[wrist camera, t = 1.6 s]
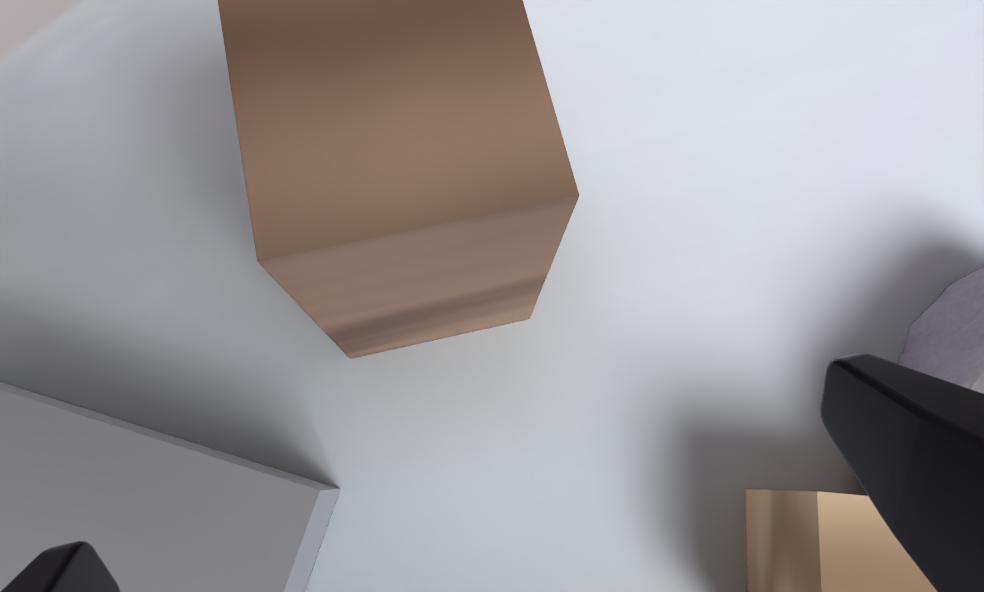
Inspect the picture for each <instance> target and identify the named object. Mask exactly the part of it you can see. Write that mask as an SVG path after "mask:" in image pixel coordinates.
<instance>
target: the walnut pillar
mask: <svg viewBox="0 0 984 592" xmlns="http://www.w3.org/2000/svg"><path fill="white" fill-rule="evenodd" d="M218 5H219V11H220V18H221V24H222V31H223V38H224V44H225V51H226V57H227V64H228V70H229V77H230V84H231V90H232V97H233V103H234V110H235V116H236V123H237V129H238V136H239V143H240V149H241V156H242V162H243V169H244V175H245V182H246V188H247V195H248V202H249V208H250V215H251V221H252V228H253V234H254V241H255V247H256V254H257V261H258V262H259V263H260V264H261V265H262V266H263V268H264V269H265V270H266V271H267V272H268V273H269V274H270V275H271V276H272V277H273V278H274V279H275V280H276V281H277V282H278V283H279V284H280V285H281V286H282V287H283V289H284V290H285V291H286V292H287V293H288V294H289V295H290V296H291V297H292V298H293V299H294V300H295V301H296V302H297V303H298V304H299V305H300V306H301V307H302V308H303V310H304V311H305V312H306V313H307V314H308V315H309V316H310V317H311V318H312V319H313V320H314V321H315V322H316V323H317V324H318V325H319V326H320V327H321V328H322V329H323V331H324V332H325V333H326V334H327V335H328V336H329V337H330V338H331V339H332V340H333V341H334V342H335V343H336V344H337V345H338V346H339V347H340V348H341V349H342V350H343V351H344V353H345V354H346V355H347V356H348V357H349V358H350V359H351V358H356V357H360V356H365V355H369V354H374V353H378V352H383V351H387V350H392V349H396V348H401V347H405V346H410V345H414V344H419V343H423V342H428V341H433V340H437V339H442V338H446V337H451V336H455V335H460V334H464V333H469V332H473V331H478V330H482V329H487V328H491V327H496V326H500V325H505V324H509V323H514V322H518V321H523V320H527V319H529V318H530V316H531V314H532V311H533V309H534V306H535V304H536V301H537V299H538V296H539V294H540V291H541V289H542V286H543V284H544V281H545V279H546V276H547V274H548V271H549V269H550V267H551V264H552V262H553V259H554V257H555V254H556V252H557V249H558V247H559V244H560V242H561V239H562V237H563V234H564V232H565V229H566V227H567V224H568V222H569V220H570V217H571V215H572V212H573V210H574V207H575V205H576V202H577V200H578V197H579V193H578V190H577V186H576V183H575V179H574V176H573V172H572V169H571V165H570V162H569V159H568V155H567V152H566V148H565V145H564V141H563V138H562V135H561V131H560V128H559V124H558V121H557V117H556V114H555V110H554V107H553V104H552V100H551V97H550V93H549V90H548V86H547V83H546V80H545V76H544V73H543V69H542V66H541V62H540V59H539V56H538V52H537V49H536V45H535V42H534V38H533V35H532V31H531V28H530V25H529V21H528V18H527V14H526V11H525V7H524V4H523V1H522V0H218Z"/></svg>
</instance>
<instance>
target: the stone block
mask: <svg viewBox="0 0 984 592" xmlns="http://www.w3.org/2000/svg"><path fill="white" fill-rule="evenodd" d="M898 364H899V365H902V366H905V367H908V368H911V369H914V370H917V371H920V372H923V373H926V374H928V375H931V376H934V377H937V378H940V379H943V380H946V381H949V382H952V383H955V384H957V385H960V386H963V387H966V388H969V389H972V390H975V391H978V392H981V393H984V267H983V268H980V269H978V270H976V271H974V272H972V273H970V274H968V275H966V276H964V277H963V278H961V279H960V280H956V281H954V282H953V283H952V284H951V285H950V286H948V287H947V288H946V289H945V290H944V291H943V293H942V294H941V295H940V297H939V298H938V299H936V300H935V301H934V302H933V303H932V304H931V305H930V307H929V308H928V309H926V310H925V311H924V312H923V313H922V314H920V316H919V317H918V318H917V319H916V320H915V321H914V322H913V323H912V324H911V326H910V329H909V333H908V337H907V340H906V344H905V347H904V350H903V353H902V355H901V356H900V357H899V360H898Z"/></svg>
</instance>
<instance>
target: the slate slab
mask: <svg viewBox="0 0 984 592" xmlns="http://www.w3.org/2000/svg"><path fill="white" fill-rule="evenodd" d="M339 491H340V489H339V488H336V487H333V486H329V485H326V484H323V483H320V482H317V481H314V480H310V479H307V478H304V477H301V476H298V475H295V474H291V473H288V472H285V471H282V470H279V469H276V468H272V467H269V466H266V465H263V464H260V463H257V462H253V461H250V460H247V459H244V458H241V457H237V456H234V455H231V454H228V453H225V452H222V451H218V450H215V449H212V448H209V447H206V446H203V445H199V444H196V443H193V442H190V441H187V440H184V439H180V438H177V437H174V436H171V435H168V434H164V433H161V432H158V431H155V430H152V429H149V428H145V427H142V426H139V425H136V424H133V423H130V422H126V421H123V420H120V419H117V418H114V417H111V416H107V415H104V414H101V413H98V412H95V411H92V410H88V409H85V408H82V407H79V406H76V405H72V404H69V403H66V402H63V401H60V400H57V399H53V398H50V397H47V396H44V395H41V394H38V393H34V392H31V391H28V390H25V389H22V388H19V387H15V386H12V385H9V384H6V383H3V382H0V591H1V590H3V589H4V588H5V587H6V586H7V585H8V584H9V583H10V582H11V581H12V580H13V579H14V578H15V577H16V576H17V575H18V574H19V573H20V572H21V571H22V570H23V569H24V568H25V567H26V566H27V565H28V564H29V563H30V562H31V561H33V560H34V559H35V558H36V557H37V556H38V555H39V554H40V553H41V552H43V551H44V550H46V549H49V548H51V547H55V546H59V545H63V544H67V543H72V542H76V541H85V542H87V543H89V544H91V545H92V546H93V548H94V549H95V551H96V552H97V554H98V555H99V557H100V558H101V560H102V561H103V563H104V564H105V566H106V567H107V569H108V570H109V572H110V573H111V575H112V576H113V578H114V579H115V581H116V582H117V584H118V586H119V589H120V592H305V589H306V586H307V583H308V580H309V577H310V575H311V572H312V569H313V566H314V563H315V560H316V557H317V554H318V552H319V549H320V546H321V543H322V540H323V537H324V534H325V532H326V529H327V526H328V523H329V520H330V517H331V514H332V511H333V509H334V506H335V503H336V500H337V497H338V494H339Z"/></svg>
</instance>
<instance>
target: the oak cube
mask: <svg viewBox="0 0 984 592" xmlns="http://www.w3.org/2000/svg"><path fill="white" fill-rule="evenodd" d="M745 504H746V563H747V592H937V591H936V589H935V588H934V587H933V586H932V584H931V583H930V582H929V580H928V579H927V578H926V577H925V575H924V574H923V573H922V571H921V570H920V569H919V568H918V566H917V565H916V564H915V562H914V561H913V560H912V559H911V557H910V556H909V555H908V553H907V552H906V551H905V549H904V548H903V547H902V545H901V544H900V543H899V541H898V540H897V539H896V537H895V536H894V535H893V533H892V532H891V530H890V529H889V527H888V526H887V525H886V523H885V522H884V520H883V519H882V517H881V516H880V514H879V512H878V511H877V509H876V508H875V506H874V505H873V503H872V501H871V500H870V498H869V497H868V496H864V495H853V494H842V493H830V492H819V491H794V490H766V489H745Z"/></svg>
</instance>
